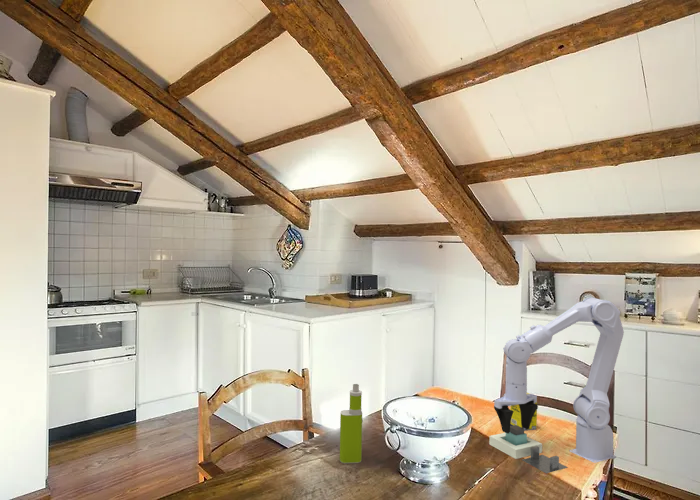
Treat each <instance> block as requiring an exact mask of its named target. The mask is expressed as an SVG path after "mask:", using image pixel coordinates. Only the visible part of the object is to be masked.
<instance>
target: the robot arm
mask: <svg viewBox="0 0 700 500" xmlns="http://www.w3.org/2000/svg"><path fill="white" fill-rule="evenodd" d="M620 315H621V310H620V309H619V308H618V307H617V306H616V305H615V304H614V303H613V302H612V301H610V300H608V299H601V298H596V297H591V296H589V297H586V298H584V299H583V300H582V301H578V302H576V303H575V304H574V305H573V306H571V307H570V308H568V309H567V310H565V311H564V312H562V313H561V314H560V315H557V317H555V318H554V319H552V320H551V321H549V322H548V323H547V324H545V325H542V324H537V325H534V324H532V325H531V326H530V327H529V328H530V329H529V330H527V331H526V332H524V333H522V334H521V335H519V334H517V335H516V336H515V337H516V338H511V339H510V340H507V341H506V342H505V345H504V347H503V352H504V354H505V356H506V358H505V359H506V360H505V393H504V394H503V396H502V397H499V398H497V399H494V401H493V402H494V404H493V409H494V411H495V412H496V414H497V416H498V419H499V422H500V427H501V430H502V431H501V432H502V433H509V432H510V423H511V418H512V414H513V412H514V411H512V410H510V406H512V405H518V404H519V407H520V412H521V425H522V427H523V428H526V429H529V427H530V424H531V420H532V417H533V415H534V413H535V411H536V410H537V411H538V408H539V405H538V396H537V394H533V393H529V394H527V393H528V367H527V365H528V364H527V362H528V360H529V359H530V357H531V355H532V354H534V353H535V352H537V351H539V350H540V349H542V348H544V347H545V346H547V345H548V344H551V342H552V340H553V336H554V335H556V334H558V333H560V332H562V331H563V330H565V329H567V328H570V327H571V326H572V325H574V324H575V325H576V323H578V322H582V323H585V322H587V323H588V322H589V323H592V324H593V326H595V328H596V329H597V331H598V332H599V337H598V341H597V345H596V348H595V352H594V356H593V359H592V362H591V367H590V370H589V374H588V376H587V381H586V385H585V386H584V387H583V388H581V389H580V392H579V394H578V395H577V397H576V398H575V399H574V400H573V405H572V406H573V411H574V412H575V414H577V417H576V419H575V425H576V426H575V427H576V428H575V429H576V432H575V434H576V435H575V444H576V445H575V448H573V449H569V450H568V451H569V452H570V453H572V454H574V455H576V456H578V457H580V458H583V459H585V460H587V461H589V462H591V463H599V462H603V461H606V460H609V459H613V460H615V459H617V456H616V454H615V455H614V432H613V430H612V427H611V426H610V425H609V423H610V420H611V416H610V407H611V406H610V400H609V397H608V392H609V388H610V385H611V381H612V377H613V374H614V371H615V366H616V363H617V359H618V355H619V352H620V348H621V345H622V341H623V338H624V333H625V332H624V328H623V324H622V321H621V317H620ZM535 402H537V404H534V403H535Z"/></svg>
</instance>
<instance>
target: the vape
mask: <svg viewBox="0 0 700 500" xmlns="http://www.w3.org/2000/svg"><path fill="white" fill-rule="evenodd" d="M359 387H360V384H358V383H354V384H352V389H351V390H350V391H349V410H348V409H347V410H346V409H344V410H341V411H340V416H339V417H340V418H339V419H340V422H339V423H340V426H339V427H340V428H339V462H340V463H342V464H358V463H362V451H363V450H362V444H363V440H362V439H363V410H362V395H363V392H362V390H361V389H360V388H359Z"/></svg>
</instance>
